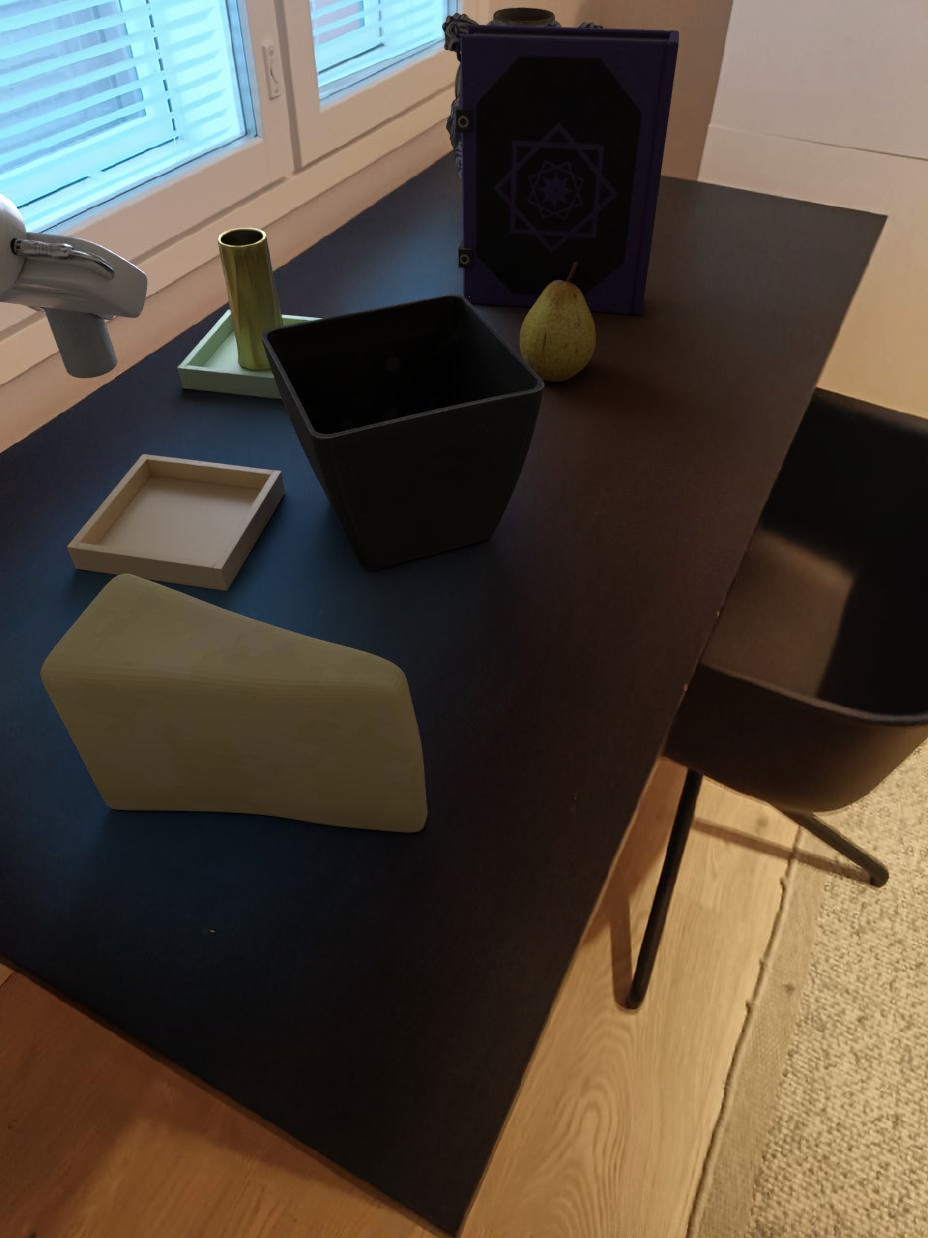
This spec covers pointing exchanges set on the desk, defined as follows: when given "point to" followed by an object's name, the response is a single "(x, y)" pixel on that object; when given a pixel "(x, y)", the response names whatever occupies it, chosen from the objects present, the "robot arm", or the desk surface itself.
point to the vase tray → (227, 363)
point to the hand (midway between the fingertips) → (77, 307)
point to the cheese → (234, 714)
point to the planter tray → (179, 522)
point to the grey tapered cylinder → (82, 342)
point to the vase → (250, 292)
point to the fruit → (558, 332)
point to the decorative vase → (453, 43)
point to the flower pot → (408, 422)
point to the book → (562, 160)
